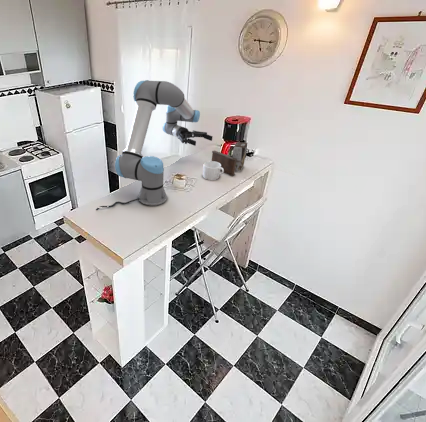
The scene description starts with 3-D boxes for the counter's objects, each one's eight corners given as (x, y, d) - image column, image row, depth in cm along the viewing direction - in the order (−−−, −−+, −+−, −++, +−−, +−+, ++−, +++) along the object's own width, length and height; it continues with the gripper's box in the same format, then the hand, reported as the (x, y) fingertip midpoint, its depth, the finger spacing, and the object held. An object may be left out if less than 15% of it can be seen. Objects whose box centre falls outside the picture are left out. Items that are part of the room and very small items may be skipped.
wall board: (210, 166, 192) (211, 151, 186) (213, 165, 193) (214, 150, 187) (231, 176, 178) (234, 160, 173) (235, 175, 180) (237, 159, 174)
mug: (198, 176, 180) (199, 164, 176) (208, 171, 186) (210, 159, 181) (217, 183, 172) (218, 171, 167) (227, 177, 177) (229, 165, 173)
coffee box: (240, 172, 182) (244, 147, 174) (229, 170, 185) (233, 146, 177) (243, 166, 189) (248, 142, 180) (233, 164, 192) (237, 141, 183)
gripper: (194, 134, 199) (217, 142, 183) (165, 142, 188) (187, 151, 173) (195, 123, 194) (219, 130, 179) (165, 130, 184) (188, 139, 169)
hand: (203, 141), depth 176 cm, fingers open, 13 cm apart
